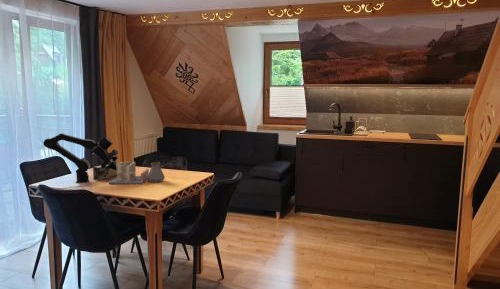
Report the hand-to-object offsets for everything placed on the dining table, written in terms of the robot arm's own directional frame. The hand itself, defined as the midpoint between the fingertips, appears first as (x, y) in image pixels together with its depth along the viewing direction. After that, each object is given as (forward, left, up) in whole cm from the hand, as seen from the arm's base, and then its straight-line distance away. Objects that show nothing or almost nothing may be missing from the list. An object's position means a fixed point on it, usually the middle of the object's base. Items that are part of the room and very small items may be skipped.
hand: (119, 170), depth 254 cm
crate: (+5, 0, -6) cm, 8 cm away
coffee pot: (+29, -4, -7) cm, 30 cm away
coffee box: (-8, +16, -3) cm, 19 cm away
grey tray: (+7, 0, -7) cm, 10 cm away
